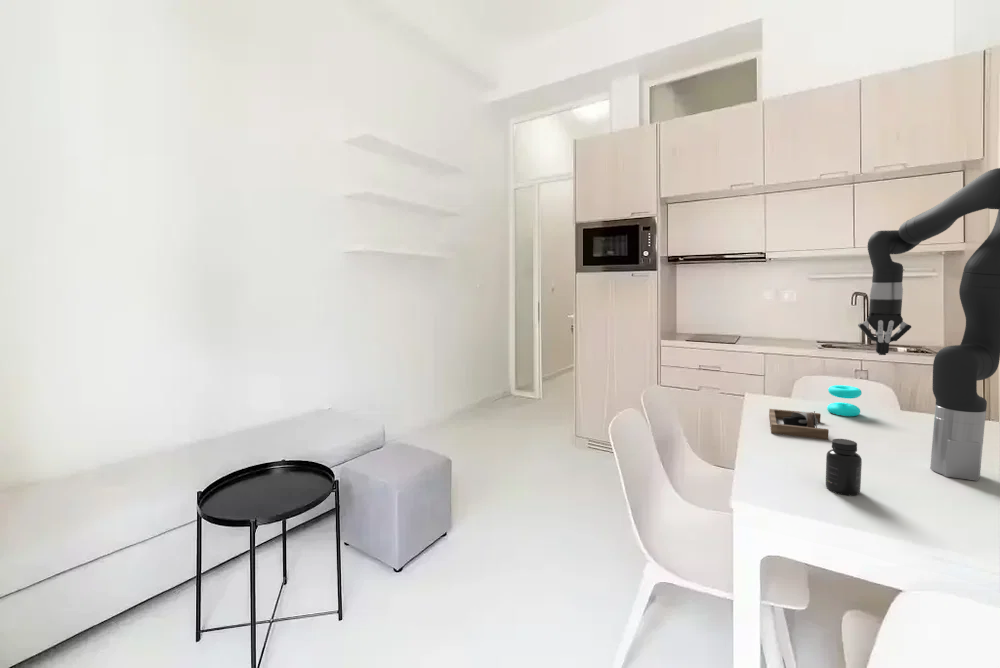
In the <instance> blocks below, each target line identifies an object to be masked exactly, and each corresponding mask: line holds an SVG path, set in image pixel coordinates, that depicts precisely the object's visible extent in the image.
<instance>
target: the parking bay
mask: <svg viewBox="0 0 1000 668" xmlns="http://www.w3.org/2000/svg"><path fill="white" fill-rule="evenodd" d="M768 410H769V411H768V412H769V413H768V417H769V427H771V428H770V433H771V434H774V433H776V434H775V435H783V434H784V435H785V436H791V435H792V436H793V437H800V438H801V437H802V438H811V439H819V440H825V441H827V440H828V441H829V432H830V431H829V429H828V428H823V427H822V428H821V427H820V428H819V427H817V428H816V427H815V428H813V427H803V426H794V425H784V423H777V419H779V420H783V418H784V417H791V414H792V413H793V412H800V411H798V410H788V409H787V410H786V409H779V408H778V409H777V408H769V409H768ZM813 415H814V412H813ZM821 415H822V414H821V413H820V412H819V413H818V412H815V416H816V419H818V424H821ZM815 416H814V417H815Z"/></svg>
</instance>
